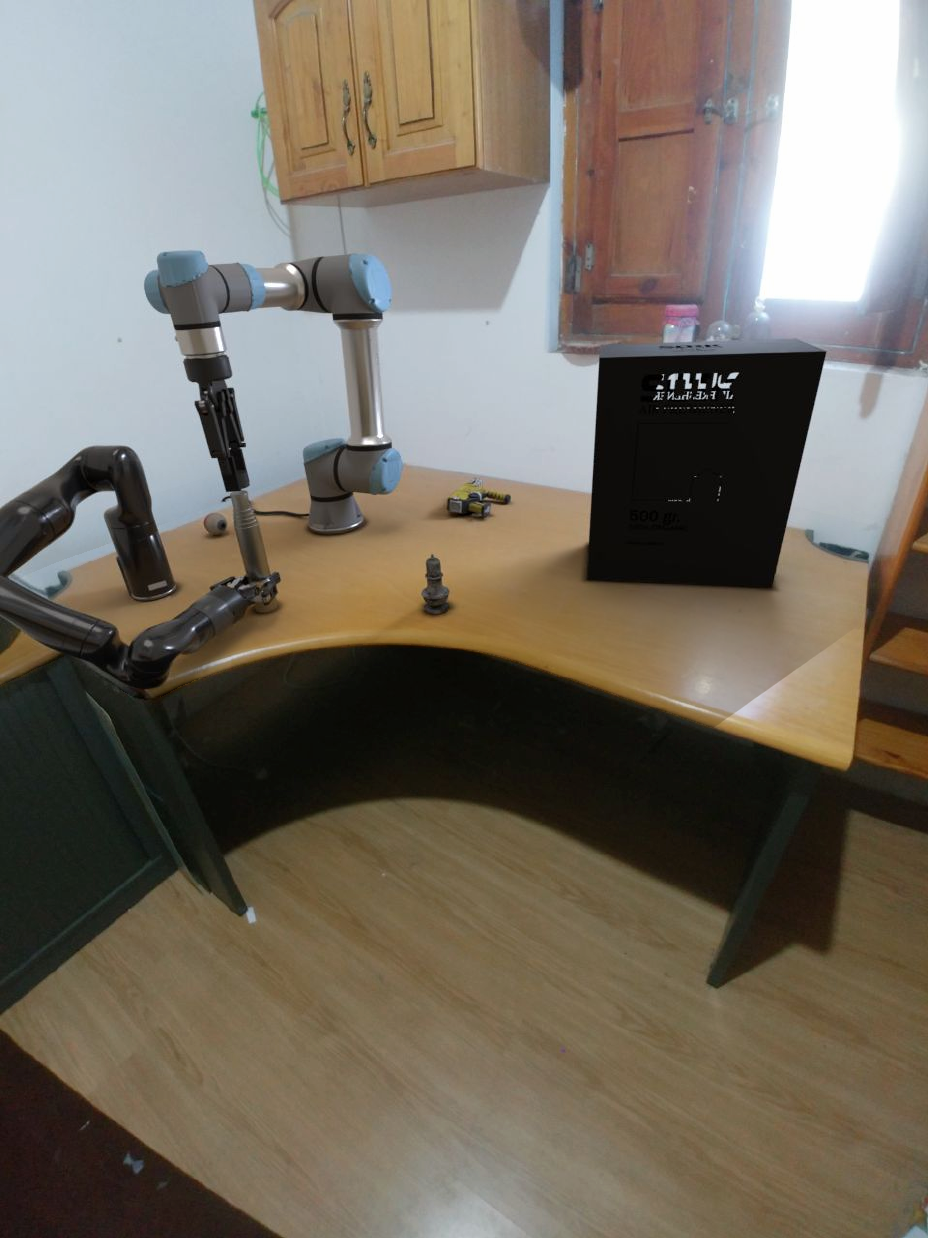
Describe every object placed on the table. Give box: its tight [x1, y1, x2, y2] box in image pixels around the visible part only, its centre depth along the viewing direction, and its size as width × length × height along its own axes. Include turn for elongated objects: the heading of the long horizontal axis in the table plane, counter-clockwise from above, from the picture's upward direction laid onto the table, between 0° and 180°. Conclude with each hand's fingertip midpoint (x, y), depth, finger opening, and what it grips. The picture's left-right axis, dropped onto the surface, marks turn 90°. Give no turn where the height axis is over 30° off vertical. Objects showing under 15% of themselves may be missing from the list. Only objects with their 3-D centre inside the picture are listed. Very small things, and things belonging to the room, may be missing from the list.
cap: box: [237, 470, 251, 490], centre depth 115 cm, size 4×4×3 cm
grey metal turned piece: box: [420, 553, 451, 614], centre depth 122 cm, size 6×6×12 cm
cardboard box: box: [586, 338, 828, 589], centre depth 126 cm, size 38×20×45 cm, turn 78°
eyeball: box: [203, 512, 228, 536], centre depth 166 cm, size 6×6×6 cm
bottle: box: [229, 489, 279, 614], centre depth 122 cm, size 5×5×25 cm
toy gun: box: [446, 477, 512, 518], centre depth 177 cm, size 5×24×15 cm
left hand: (267, 574), depth 128 cm, fingers closed on bottle, 4 cm apart
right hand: (238, 486), depth 116 cm, fingers closed on cap, 4 cm apart
